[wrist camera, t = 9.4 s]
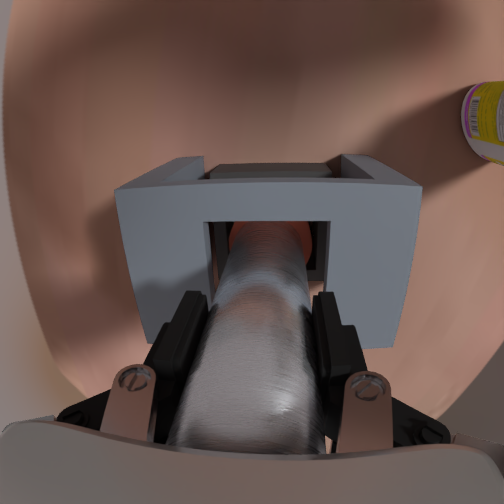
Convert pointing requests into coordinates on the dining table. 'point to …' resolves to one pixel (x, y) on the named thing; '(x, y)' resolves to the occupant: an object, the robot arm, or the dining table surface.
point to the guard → (274, 209)
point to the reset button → (300, 226)
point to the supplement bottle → (485, 120)
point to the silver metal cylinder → (256, 355)
